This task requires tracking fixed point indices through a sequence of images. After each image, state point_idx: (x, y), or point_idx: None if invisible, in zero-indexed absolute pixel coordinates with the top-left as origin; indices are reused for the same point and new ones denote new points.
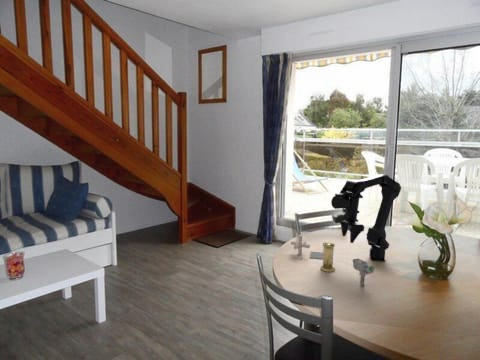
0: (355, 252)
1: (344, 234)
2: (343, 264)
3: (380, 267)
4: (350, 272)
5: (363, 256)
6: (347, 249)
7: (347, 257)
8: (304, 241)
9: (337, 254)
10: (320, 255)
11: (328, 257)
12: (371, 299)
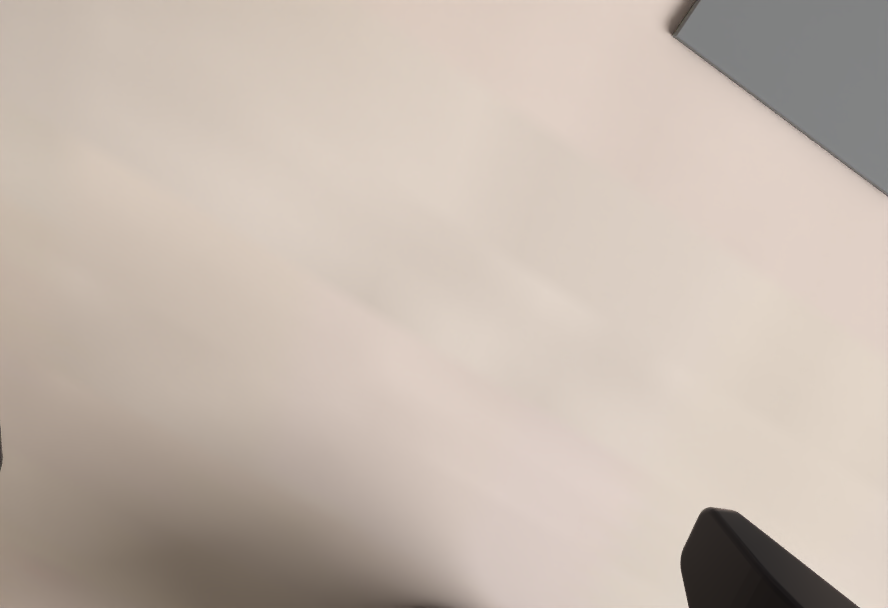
0: None
1: (709, 591)
2: (395, 181)
3: (170, 583)
4: (42, 95)
5: (568, 587)
6: (861, 536)
7: (621, 391)
8: None
9: (783, 320)
10: (875, 5)
11: None
12: None
